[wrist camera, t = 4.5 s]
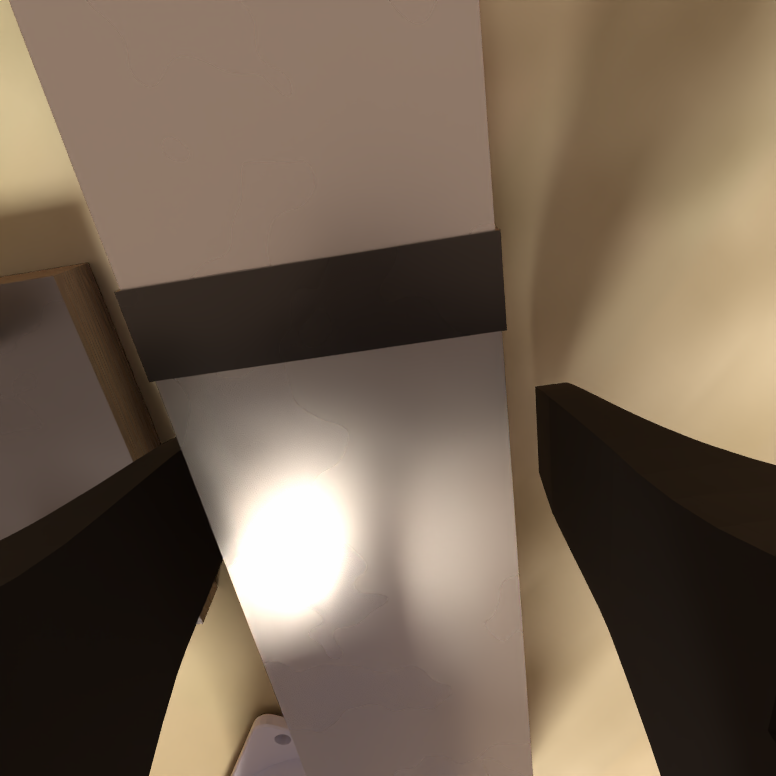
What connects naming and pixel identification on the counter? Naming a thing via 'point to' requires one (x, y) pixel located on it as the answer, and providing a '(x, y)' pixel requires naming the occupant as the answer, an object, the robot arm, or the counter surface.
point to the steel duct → (321, 342)
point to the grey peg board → (63, 396)
